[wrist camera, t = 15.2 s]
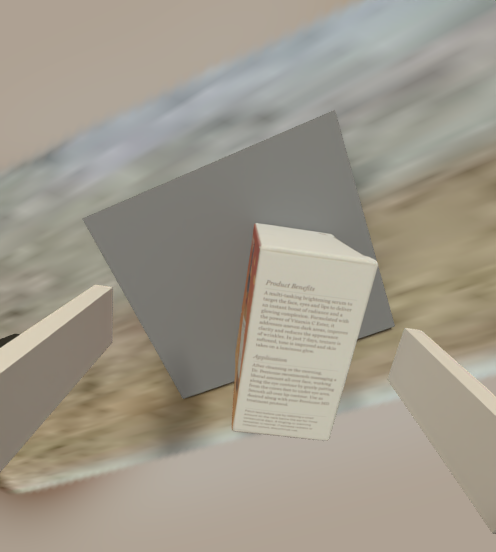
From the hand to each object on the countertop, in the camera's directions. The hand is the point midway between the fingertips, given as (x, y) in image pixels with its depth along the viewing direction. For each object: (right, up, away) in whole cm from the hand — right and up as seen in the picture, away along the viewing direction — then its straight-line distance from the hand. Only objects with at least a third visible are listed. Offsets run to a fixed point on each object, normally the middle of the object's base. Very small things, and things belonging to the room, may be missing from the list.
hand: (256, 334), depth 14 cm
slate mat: (0, +3, +9) cm, 9 cm away
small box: (+1, -5, +7) cm, 9 cm away
